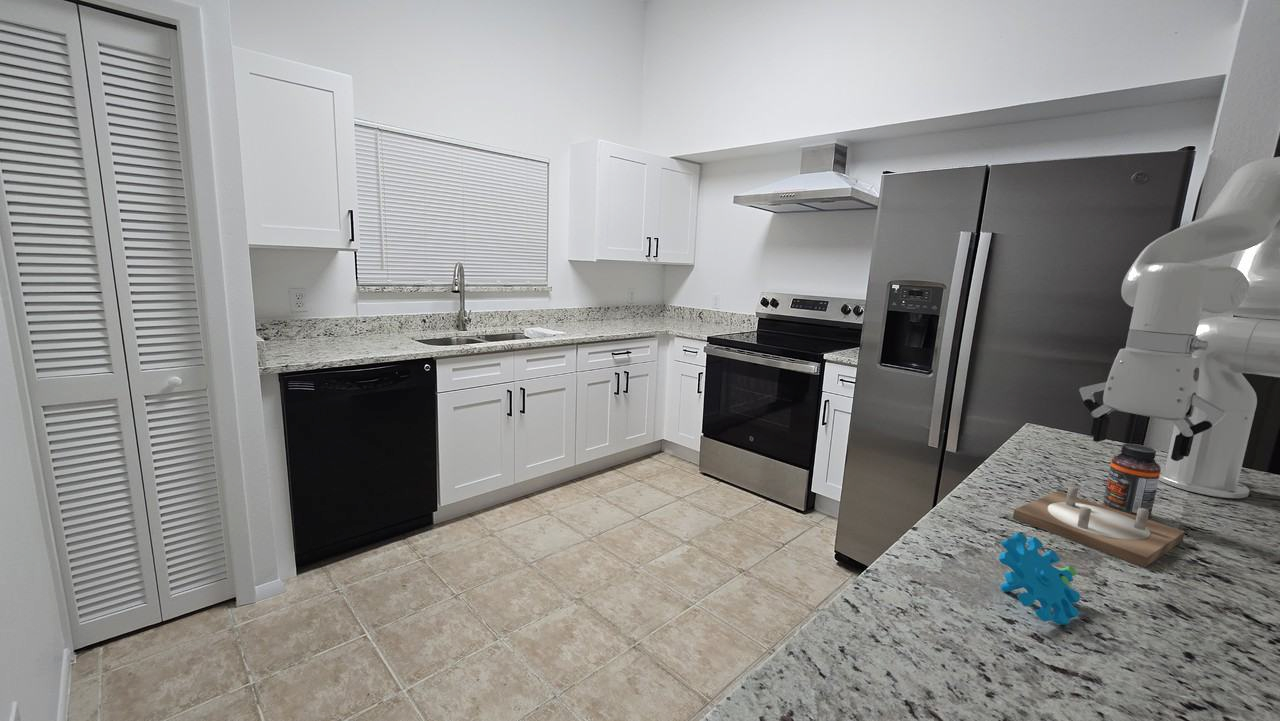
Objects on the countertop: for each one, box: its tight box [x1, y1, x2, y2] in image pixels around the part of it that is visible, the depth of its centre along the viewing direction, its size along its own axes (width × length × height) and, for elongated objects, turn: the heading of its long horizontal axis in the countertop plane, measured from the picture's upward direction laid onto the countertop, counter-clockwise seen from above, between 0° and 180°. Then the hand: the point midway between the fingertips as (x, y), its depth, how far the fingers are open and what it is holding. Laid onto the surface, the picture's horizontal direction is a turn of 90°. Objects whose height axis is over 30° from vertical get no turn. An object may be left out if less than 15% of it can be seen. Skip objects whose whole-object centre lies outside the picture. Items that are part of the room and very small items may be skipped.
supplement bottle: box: [1102, 443, 1161, 519], centre depth 87 cm, size 6×6×11 cm
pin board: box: [1012, 486, 1186, 569], centre depth 82 cm, size 15×16×4 cm
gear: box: [998, 532, 1081, 626], centre depth 63 cm, size 11×6×10 cm
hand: (1136, 449), depth 86 cm, fingers open, 9 cm apart
